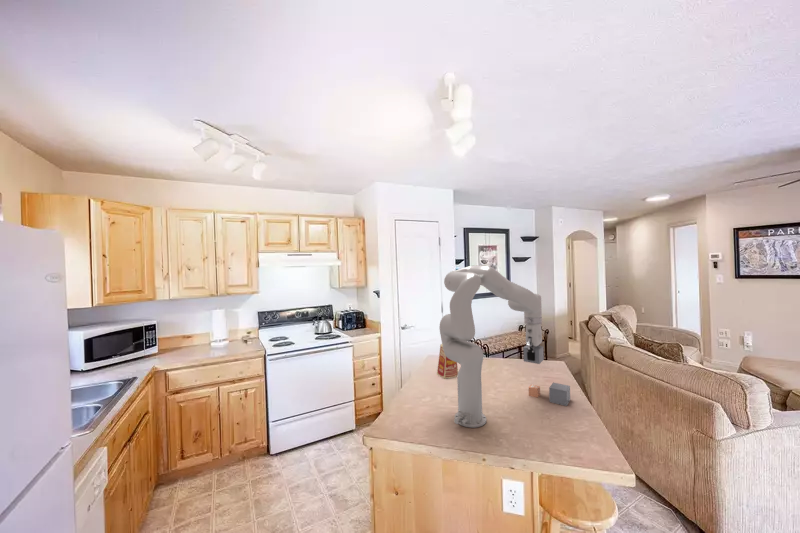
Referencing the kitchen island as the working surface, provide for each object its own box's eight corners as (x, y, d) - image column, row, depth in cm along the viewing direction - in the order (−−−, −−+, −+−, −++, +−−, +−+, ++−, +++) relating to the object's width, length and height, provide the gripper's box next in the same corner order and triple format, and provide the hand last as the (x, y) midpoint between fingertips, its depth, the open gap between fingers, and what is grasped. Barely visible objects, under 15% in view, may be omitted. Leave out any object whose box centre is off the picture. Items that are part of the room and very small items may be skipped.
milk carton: (436, 374, 181) (435, 339, 180) (450, 371, 184) (449, 337, 184) (445, 379, 172) (444, 343, 172) (459, 376, 176) (458, 340, 176)
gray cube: (539, 364, 145) (539, 349, 145) (523, 361, 149) (523, 347, 149) (543, 359, 150) (543, 346, 150) (528, 357, 155) (528, 344, 154)
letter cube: (537, 397, 147) (537, 388, 147) (528, 395, 150) (528, 386, 150) (540, 394, 151) (540, 386, 150) (531, 392, 153) (531, 384, 153)
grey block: (566, 406, 138) (566, 391, 138) (549, 401, 143) (549, 387, 143) (570, 400, 144) (570, 385, 144) (553, 396, 148) (553, 382, 148)
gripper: (535, 324, 140) (536, 364, 141) (546, 318, 154) (547, 354, 154) (518, 322, 145) (519, 361, 145) (530, 316, 158) (531, 352, 159)
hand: (533, 357), depth 150 cm, fingers closed on gray cube, 7 cm apart
